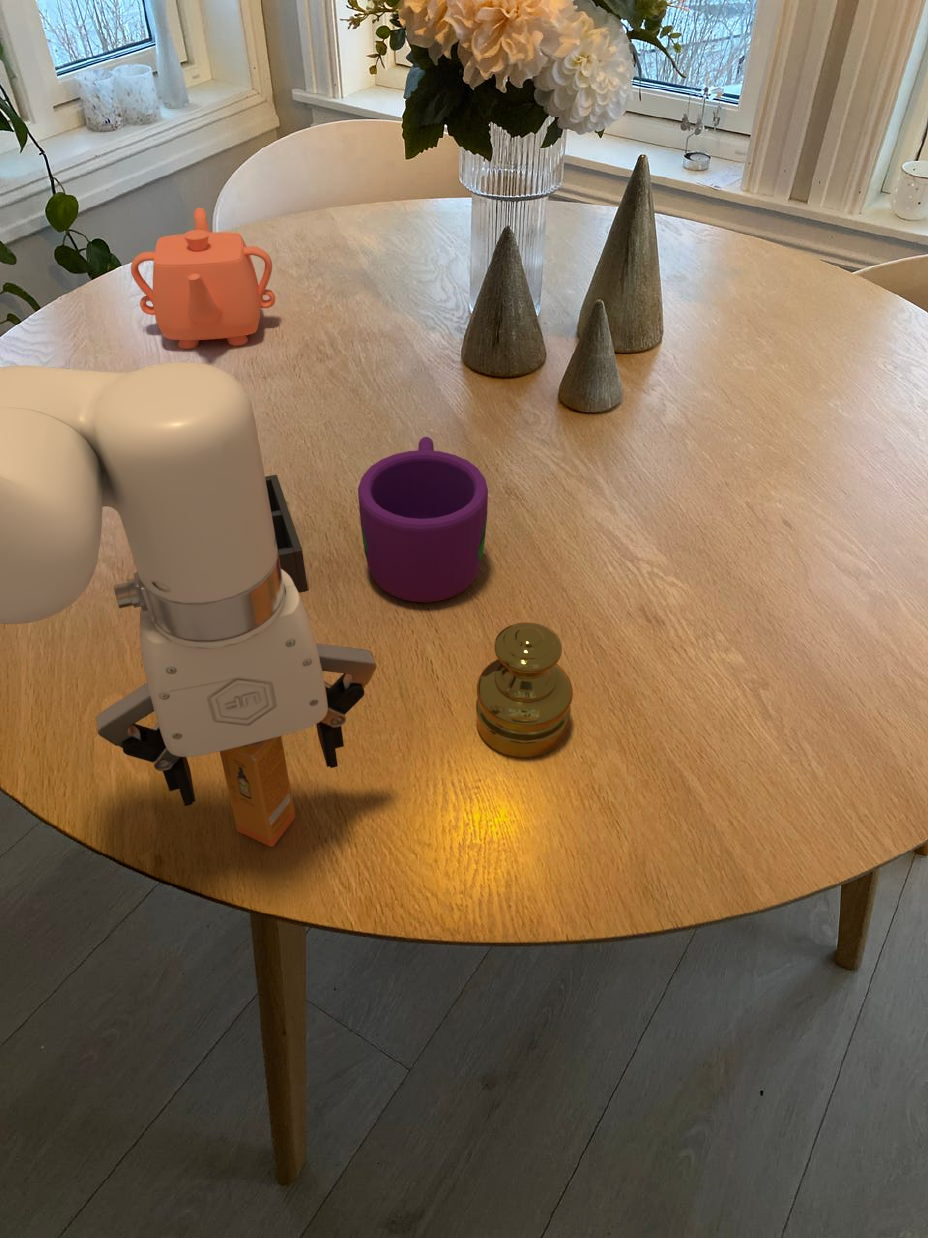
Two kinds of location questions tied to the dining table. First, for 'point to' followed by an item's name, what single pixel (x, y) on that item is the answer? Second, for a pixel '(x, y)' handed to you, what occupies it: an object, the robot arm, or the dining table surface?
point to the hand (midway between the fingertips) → (259, 770)
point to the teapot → (204, 285)
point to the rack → (286, 535)
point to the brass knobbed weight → (524, 692)
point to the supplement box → (259, 789)
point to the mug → (423, 523)
